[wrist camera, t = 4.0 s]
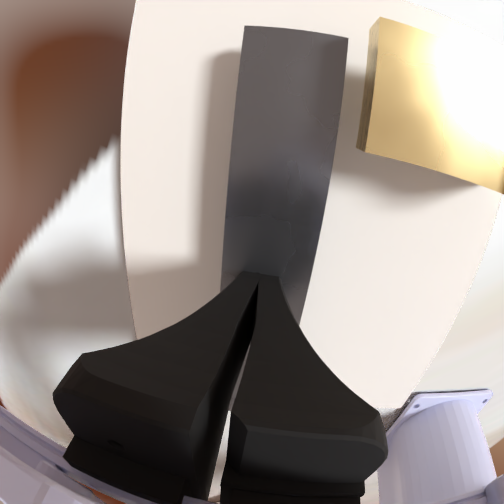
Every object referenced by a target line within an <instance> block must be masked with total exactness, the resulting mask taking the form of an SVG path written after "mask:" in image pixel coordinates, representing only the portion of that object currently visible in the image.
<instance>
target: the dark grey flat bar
mask: <svg viewBox="0 0 504 504" xmlns="http://www.w3.org/2000/svg"><path fill="white" fill-rule="evenodd" d="M348 39H349V38H346V37H342V36H336V35H331V34H325V33H319V32H313V31H306V30H298V29H289V28H279V27H266V26H246V25H244V33H243V41H242V49H241V57H240V66H239V75H238V83H237V93H236V102H235V112H234V121H233V132H232V142H231V153H230V164H229V175H228V187H227V199H226V212H225V226H224V240H223V254H222V270H221V286H220V292H221V291H222V290H223V289H225V288H226V287H227V286H228V285H229V284H230V283H231V282H232V281H233V280H234V279H235V278H236V277H237V276H238V275H239V274H240V273H241V272H243V271H247V272H253V273H259V274H266V275H272V276H278V277H280V279H281V280H282V286H283V289H284V293H285V296H286V298H287V301H288V304H289V306H290V308H291V310H292V313H293V315H294V317H295V319H296V321H297V323H298V325H300V321H301V317H302V313H303V309H304V304H305V300H306V296H307V292H308V288H309V283H310V279H311V274H312V270H313V265H314V261H315V256H316V251H317V247H318V242H319V237H320V232H321V227H322V222H323V217H324V212H325V206H326V201H327V195H328V190H329V184H330V178H331V173H332V167H333V160H334V154H335V148H336V141H337V134H338V127H339V120H340V113H341V105H342V97H343V89H344V80H345V71H346V61H347V51H348ZM249 349H250V345H249V348H248V351H247V354H246V357H245V359H244V362H243V365H242V368H241V371H240V374H239V377H238V380H237V383H236V386H235V388H234V391H233V395H232V398H231V401H230V405H229V411H231V410H232V407H233V404H234V401H235V398H236V394H237V391H238V388H239V385H240V381H241V378H242V374H243V371H244V367H245V364H246V360H247V356H248V352H249Z"/></svg>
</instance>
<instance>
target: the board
mask: <svg viewBox="0 0 504 504" xmlns="http://www.w3.org/2000/svg"><path fill="white" fill-rule="evenodd" d="M379 17H383V18H387V19H390V20H394V21H397V22H400V23H403V24H406V25H409V26H412V27H415V28H418V29H421V30H423V31H426V32H429V33H431V34H434V35H436V36H439V37H441V38H443V39H446V40H448V41H450V42H453V43H455V44H457V45H459V46H461V47H464V48H466V49H468V50H470V51H472V52H474V53H476V54H478V55H480V56H481V57H483V58H485V59H487V60H489V61H491V62H493V63H494V64H496V65H498V66H499V67H501V68H503V69H504V47H503V46H502V45H500V44H499V43H497V42H495V41H493V40H492V39H490V38H488V37H486V36H485V35H483V34H481V33H479V32H477V31H475V30H473V29H472V28H470V27H468V26H466V25H464V24H461V23H459V22H457V21H455V20H453V19H451V18H449V17H446V16H444V15H442V14H439V13H437V12H435V11H432V10H430V9H427V8H424V7H422V6H419V5H416V4H414V3H411V2H408V1H405V0H136V4H135V9H134V14H133V20H132V25H131V32H130V38H129V45H128V52H127V61H126V69H125V79H124V90H123V103H122V121H121V205H122V224H123V238H124V250H125V260H126V270H127V278H128V286H129V294H130V301H131V308H132V314H133V321H134V327H135V332H136V338H137V340H139V339H141V338H144V337H147V336H149V335H152V334H154V333H156V332H158V331H161V330H163V329H165V328H167V327H169V326H172V325H174V324H176V323H177V322H179V321H181V320H183V319H184V318H186V317H188V316H189V315H191V314H192V313H194V312H195V311H197V310H198V309H200V308H201V307H202V306H204V305H205V304H206V303H208V302H209V301H210V300H212V299H213V298H214V297H215V296H217V295H218V294H219V293H220V286H221V270H222V254H223V240H224V226H225V212H226V199H227V187H228V175H229V164H230V153H231V142H232V132H233V121H234V112H235V102H236V93H237V83H238V75H239V66H240V57H241V49H242V41H243V33H244V25H246V26H266V27H279V28H289V29H298V30H306V31H313V32H319V33H325V34H331V35H336V36H342V37H346V38H349V39H348V51H347V61H346V71H345V80H344V89H343V97H342V105H341V113H340V120H339V127H338V134H337V141H336V148H335V154H334V160H333V167H332V173H331V178H330V184H329V190H328V195H327V201H326V206H325V212H324V217H323V222H322V227H321V232H320V237H319V242H318V247H317V251H316V256H315V261H314V265H313V270H312V274H311V279H310V283H309V288H308V292H307V296H306V300H305V304H304V309H303V313H302V317H301V321H300V325H299V327H300V328H301V330H302V332H303V334H304V335H305V337H306V338H307V340H308V342H309V343H310V344H311V346H312V347H313V349H314V350H315V352H316V353H317V354H318V356H319V357H320V358H321V359H322V361H323V362H324V363H325V364H326V365H327V366H328V367H329V368H330V370H331V371H332V372H333V373H334V374H335V375H336V376H337V377H338V378H339V379H340V380H341V381H342V382H343V383H344V384H345V385H346V386H347V387H348V388H349V389H351V390H352V391H353V392H354V393H355V394H357V395H358V396H359V397H360V398H362V399H363V400H364V401H366V402H367V403H368V404H369V405H371V406H372V407H373V408H401V407H402V406H403V404H404V403H405V402H406V400H407V399H408V397H409V396H410V394H411V393H412V392H413V390H414V389H415V387H416V386H417V384H418V383H419V381H420V380H421V378H422V377H423V375H424V373H425V372H426V370H427V369H428V367H429V366H430V364H431V362H432V361H433V359H434V357H435V356H436V354H437V352H438V351H439V349H440V347H441V345H442V344H443V342H444V340H445V338H446V336H447V334H448V333H449V331H450V329H451V327H452V325H453V323H454V321H455V319H456V317H457V315H458V313H459V311H460V309H461V307H462V305H463V303H464V301H465V299H466V296H467V294H468V292H469V290H470V287H471V285H472V283H473V280H474V278H475V276H476V273H477V271H478V268H479V266H480V263H481V260H482V258H483V255H484V252H485V250H486V247H487V244H488V241H489V238H490V235H491V232H492V229H493V226H494V223H495V219H496V216H497V212H498V209H499V205H500V201H501V198H502V194H501V193H499V192H496V191H494V190H491V189H489V188H486V187H483V186H480V185H478V184H475V183H472V182H469V181H466V180H463V179H460V178H457V177H454V176H451V175H448V174H445V173H442V172H439V171H435V170H432V169H429V168H425V167H422V166H418V165H414V164H411V163H407V162H403V161H399V160H396V159H392V158H388V157H383V156H379V155H375V154H371V153H366V152H363V151H361V150H359V149H357V148H356V143H357V137H358V130H359V123H360V116H361V109H362V101H363V93H364V84H365V75H366V65H367V54H368V41H369V29H370V28H371V27H372V25H373V24H374V23H375V22H376V20H377V19H378V18H379Z"/></svg>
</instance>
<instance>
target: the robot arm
mask: <svg viewBox="0 0 504 504" xmlns="http://www.w3.org/2000/svg"><path fill="white" fill-rule="evenodd" d="M249 345H250V349H249V352H248V356H247V360H246V364H245V367H244V371H243V374H242V378H241V381H240V385H239V388H238V391H237V394H236V398H235V401H234V404H233V407H232V410H231V417H230V427H229V437H228V447H227V457H226V463H225V467H224V471H223V475H222V479H221V484H220V486H221V495H220V504H360V497H362V496H363V495H364V493H365V483H364V480H366V479H367V478H368V477H369V476H370V475H371V474H372V473H374V472H375V471H376V470H377V472H378V486H379V504H504V474H503V475H501V476H499V477H497V476H496V472H495V468H494V464H493V461H492V457H491V454H490V451H489V447H488V444H487V441H486V438H485V435H484V432H483V429H482V426H481V423H480V420H479V418H478V415H477V414H478V412H479V411H480V410H481V409H482V408H483V407H484V406H485V404H486V403H487V402H488V401H489V400H490V398H491V397H492V396H493V391H492V390H481V391H469V392H454V393H427V394H418V395H416V396H415V397H414V398H413V399H412V400H411V402H410V403H409V404H408V406H407V407H406V408H405V410H404V411H403V412H402V414H401V415H400V416H399V417H398V419H397V420H396V421H395V423H394V424H393V425H392V426H391V428H390V429H389V430H388V431H387V432H386V433H385V429H384V426H383V423H382V420H381V416H380V413H379V411H377V410H376V409H375V408H373V407H372V406H371V405H369V404H368V403H367V402H366V401H364V400H363V399H362V398H360V397H359V396H358V395H357V394H355V393H354V392H353V391H352V390H351V389H349V388H348V387H347V386H346V385H345V384H344V383H343V382H342V381H341V380H340V379H339V378H338V377H337V376H336V375H335V374H334V373H333V372H332V371H331V370H330V368H329V367H328V366H327V365H326V364H325V363H324V362H323V361H322V359H321V358H320V357H319V356H318V354H317V353H316V352H315V350H314V349H313V347H312V346H311V344H310V343H309V342H308V340H307V338H306V337H305V335H304V334H303V332H302V330H301V328H300V327H299V325H298V323H297V321H296V319H295V317H294V315H293V313H292V310H291V308H290V306H289V304H288V301H287V298H286V296H285V293H284V289H283V286H282V280H281V279H280V277H278V276H272V275H266V274H259V273H253V272H247V271H243V272H241V273H240V274H239V275H238V276H237V277H236V278H235V279H234V280H233V281H232V282H231V283H230V284H229V285H228V286H227V287H226V288H225V289H223V290H222V291H221V292H220V293H219V294H218V295H217V296H215V297H214V298H213V299H212V300H210V301H209V302H208V303H206V304H205V305H204V306H202V307H201V308H200V309H198V310H197V311H195V312H194V313H192V314H191V315H189V316H188V317H186V318H184V319H183V320H181V321H179V322H177V323H176V324H174V325H172V326H169V327H167V328H165V329H163V330H161V331H158V332H156V333H154V334H152V335H149V336H147V337H144V338H141V339H139V340H136V341H133V342H129V343H126V344H123V345H119V346H116V347H112V348H107V349H103V350H98V351H94V352H89V353H83V354H82V355H81V356H80V357H79V358H78V359H77V360H76V362H75V363H74V364H73V365H72V367H71V368H70V369H69V371H68V372H67V373H66V375H65V376H64V378H63V379H62V380H61V382H60V383H59V385H58V386H57V388H56V389H55V390H54V392H53V400H54V404H55V406H56V408H57V410H58V412H59V413H60V415H61V416H62V418H63V419H64V421H65V422H66V424H67V425H68V427H69V428H70V430H71V431H72V432H73V434H74V435H75V436H74V437H73V439H72V441H71V442H70V444H69V446H68V448H65V447H63V446H61V445H60V444H58V443H56V442H54V441H53V440H51V439H49V438H48V437H46V436H44V435H43V434H41V433H39V432H38V431H36V430H35V429H33V428H32V427H30V426H29V425H27V424H26V423H24V422H23V421H21V420H20V419H18V418H17V417H16V416H14V415H13V414H11V413H10V412H9V411H7V410H6V409H5V408H3V407H2V406H1V405H0V500H1V501H2V502H3V503H4V504H106V503H104V502H103V501H102V500H100V499H99V498H98V497H96V496H95V495H94V493H93V492H92V491H91V490H90V489H88V488H87V487H85V486H83V485H81V484H80V483H78V482H77V481H79V482H81V483H83V484H85V485H87V486H89V487H91V488H93V489H95V490H97V491H99V492H101V493H103V494H106V495H108V496H110V497H112V498H115V499H117V500H119V501H122V502H124V503H127V504H218V503H214V502H209V501H208V497H209V492H210V488H211V483H212V479H213V474H214V470H215V466H216V461H217V457H218V452H219V448H220V444H221V439H222V435H223V431H224V427H225V422H226V418H227V414H228V410H229V405H230V401H231V398H232V395H233V391H234V388H235V386H236V383H237V380H238V377H239V374H240V371H241V368H242V365H243V362H244V359H245V357H246V354H247V351H248V348H249ZM67 475H68V476H67ZM69 476H70V477H72V478H73V479H72V478H70V477H69ZM74 479H75V480H77V481H75V480H74Z"/></svg>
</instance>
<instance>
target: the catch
mask: <svg viewBox="0 0 504 504" xmlns="http://www.w3.org/2000/svg"><path fill="white" fill-rule="evenodd" d="M356 148H357V149H359V150H361V151H363V152H366V153H371V154H375V155H379V156H383V157H388V158H392V159H396V160H399V161H403V162H407V163H411V164H414V165H418V166H422V167H425V168H429V169H432V170H435V171H439V172H442V173H445V174H448V175H451V176H454V177H457V178H460V179H463V180H466V181H469V182H472V183H475V184H478V185H480V186H483V187H486V188H489V189H491V190H494V191H496V192H499V193H501V194H504V69H503V68H501V67H499V66H498V65H496V64H494V63H493V62H491V61H489V60H487V59H485V58H483V57H481V56H480V55H478V54H476V53H474V52H472V51H470V50H468V49H466V48H464V47H461V46H459V45H457V44H455V43H453V42H450V41H448V40H446V39H443V38H441V37H439V36H436V35H434V34H431V33H429V32H426V31H423V30H421V29H418V28H415V27H412V26H409V25H406V24H403V23H400V22H397V21H394V20H390V19H387V18H383V17H379V18H378V19H377V20H376V22H375V23H374V24H373V25H372V27H371V28H370V29H369V41H368V54H367V65H366V75H365V84H364V93H363V101H362V109H361V116H360V123H359V130H358V137H357V143H356Z"/></svg>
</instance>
